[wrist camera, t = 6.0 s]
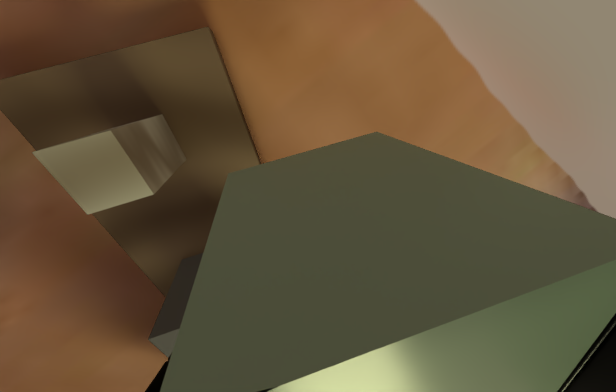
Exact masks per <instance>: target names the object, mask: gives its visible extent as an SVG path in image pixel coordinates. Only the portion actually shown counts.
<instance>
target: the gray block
mask: <svg viewBox="0 0 616 392" xmlns="http://www.w3.org/2000/svg"><path fill="white" fill-rule="evenodd" d="M202 256H203V253H200V254H197V255H194V256H191V257H188V258H185V259H182V261H181V263H180V265H179V268H178V270H177V273H176V275H175V277H174V280H173V282H172V284H171V287H170V289H169V291H168V294H167V296H166V299H165V301H164V303H163V306H162V308H161V310H160V313H159V315H158V318H157V320H156V322H155V325H154V327H153V329H152V332H151V334H150V336H149V339H148V340H149V341H150V342H152V343H153V344H154V345H155V346H156V347H157V348H158V349H159V350H160V351H162V352H163V353H164V354H165V355H166V356H167V357H168V358H169V356H170V355H171V353H172V351H173V348H174V345H175V342H176V338H177V335H178V332H179V329H180V326H181V323H182V319H183V316H184V313H185V310H186V307H187V303H188V300H189V297H190V294H191V291H192V287H193V284H194V281H195V278H196V275H197V272H198V268H199V265H200V262H201V259H202Z"/></svg>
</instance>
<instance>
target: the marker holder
mask: <svg viewBox="0 0 616 392" xmlns="http://www.w3.org/2000/svg"><path fill="white" fill-rule="evenodd" d="M0 110H1V111H2V112H3V113H4V114H5V116H6V117H7V118H8V119H9V120H10V121H11V122H12V124H13V125H14V126H15V127H16V128H17V129H18V130H19V131H20V133H21V134H22V135H23V136H24V137H25V138H26V139H27V141H28V142H29V143H30V144H31V145H32V146H33V147H34V149H35V150H36V151H35V152H32V153H33V154H34V155H35V157H36V158H37V159H38V160H39V161H40V162H41V163H42V164H43V166H44V167H45V168H46V169H47V170H48V171H49V172H50V173H51V174H52V176H53V177H54V178H55V179H56V180H57V181H58V182H59V183H60V184H61V186H62V187H63V188H64V189H65V190H66V191H67V192H68V193H69V195H70V196H71V197H72V198H73V199H74V200H75V201H76V202H77V203H78V205H79V206H80V207H81V208H82V209H83V210H84V211H85V212H86V214H87V215H88V214H93V215H94V217H95V218H96V219H97V220H98V221H99V222H100V223H101V225H102V226H103V227H104V228H105V229H106V230H107V231H108V232H109V234H110V235H111V236H112V237H113V238H114V239H115V240H116V242H117V243H118V244H119V245H120V246H121V247H122V248H123V249H124V251H125V252H126V253H127V254H128V255H129V256H130V257H131V259H132V260H133V261H134V262H135V263H136V264H137V265H138V266H139V268H140V269H141V270H142V271H143V272H144V273H145V274H146V276H147V277H148V278H149V279H150V280H151V281H152V282H153V283H154V285H155V286H156V287H157V288H158V289H159V290H160V291H161V293H162V294H163V295H164V296H165V297H166V296H167V294H168V291H169V289H170V287H171V284H172V282H173V280H174V277H175V275H176V273H177V270H178V268H179V265H180V263H181V261H182V259H185V258H188V257H191V256H194V255H197V254H200V253H203V252H204V249H205V246H206V243H207V240H208V236H209V233H210V230H211V227H212V224H213V221H214V217H215V214H216V211H217V208H218V205H219V201H220V198H221V195H222V192H223V189H224V185H225V182H226V179H227V176H228V173H232V172H235V171H239V170H242V169H246V168H250V167H253V166H257V165H260V164H261V161H260V159H259V156H258V153H257V151H256V148H255V145H254V143H253V140H252V137H251V134H250V132H249V129H248V126H247V124H246V121H245V118H244V115H243V113H242V110H241V107H240V105H239V102H238V99H237V96H236V94H235V91H234V88H233V86H232V83H231V80H230V77H229V75H228V72H227V69H226V67H225V64H224V61H223V59H222V56H221V53H220V50H219V48H218V45H217V42H216V40H215V37H214V34H213V32H212V31H211V29H210V28H209V27H205V28H201V29H197V30H193V31H189V32H185V33H181V34H177V35H173V36H169V37H165V38H162V39H158V40H154V41H150V42H146V43H142V44H138V45H134V46H130V47H126V48H122V49H118V50H115V51H111V52H107V53H103V54H99V55H95V56H91V57H87V58H83V59H79V60H75V61H71V62H67V63H64V64H60V65H56V66H52V67H48V68H44V69H40V70H36V71H32V72H28V73H24V74H20V75H16V76H13V77H9V78H5V79H1V80H0Z"/></svg>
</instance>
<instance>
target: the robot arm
mask: <svg viewBox="0 0 616 392" xmlns="http://www.w3.org/2000/svg"><path fill="white" fill-rule="evenodd" d="M171 354H172V353H171ZM170 358H171V355H170V356H169V358H168V361H166V362H165V363H164V365H163V366H162V368H161V369H160V371H159V372H158V374H157V375H156V377H155V378H154V379H153V381H152V382H151V384H150V385H149V387H148V388H147V389H146V391H145V392H160V390H161V386H162V383H163V380H164V377H165V374H166V370H167V367H168V364H169V361H170ZM557 392H616V313H615V315H614V316H613V317H612V319H611V320H610V321H609V323H608V324H607V325H606V327H605V328H604V329H603V331H602V332H601V333H600V335H599V336H598V337H597V339H596V340H595V341H594V343H593V344H592V345H591V347H590V348H589V349H588V351H587V352H586V353H585V355H584V356H583V357H582V359H581V360H580V361H579V363H578V364H577V366H576V367H575V368H574V370H573V371H572V372H571V374H570V375H569V376H568V378H567V379H566V380H565V382H564V383H563V384H562V386H561V387H560V388H559V390H558V391H557Z"/></svg>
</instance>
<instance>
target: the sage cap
mask: <svg viewBox="0 0 616 392" xmlns="http://www.w3.org/2000/svg"><path fill="white" fill-rule="evenodd" d="M615 313H616V219H615V218H612V217H609V216H606V215H604V214H601V213H598V212H596V211H593V210H590V209H587V208H585V207H582V206H579V205H576V204H574V203H571V202H568V201H565V200H563V199H560V198H557V197H554V196H552V195H549V194H546V193H543V192H541V191H538V190H535V189H532V188H530V187H527V186H524V185H521V184H519V183H516V182H513V181H510V180H508V179H505V178H502V177H499V176H497V175H494V174H491V173H489V172H486V171H483V170H480V169H478V168H475V167H472V166H469V165H467V164H464V163H461V162H458V161H456V160H453V159H450V158H447V157H445V156H442V155H439V154H436V153H434V152H431V151H428V150H425V149H423V148H420V147H417V146H414V145H412V144H409V143H406V142H403V141H401V140H398V139H395V138H393V137H390V136H387V135H384V134H382V133H379V132H374V133H370V134H367V135H363V136H360V137H356V138H353V139H349V140H346V141H342V142H338V143H335V144H331V145H328V146H324V147H321V148H317V149H314V150H310V151H306V152H303V153H299V154H296V155H292V156H289V157H285V158H282V159H278V160H274V161H271V162H267V163H264V164H260V165H257V166H253V167H250V168H246V169H242V170H239V171H235V172H232V173H228V176H227V179H226V182H225V185H224V189H223V192H222V195H221V198H220V201H219V205H218V208H217V211H216V214H215V217H214V221H213V224H212V227H211V230H210V233H209V236H208V240H207V243H206V246H205V249H204V252H203V256H202V259H201V262H200V265H199V268H198V272H197V275H196V278H195V281H194V284H193V287H192V291H191V294H190V297H189V300H188V303H187V307H186V310H185V313H184V316H183V319H182V323H181V326H180V329H179V332H178V335H177V338H176V342H175V345H174V348H173V351H172V354H171V358H170V361H169V364H168V367H167V370H166V374H165V377H164V380H163V383H162V386H161V390H160V392H557V391H558V390H559V388H560V387H561V386H562V384H563V383H564V382H565V380H566V379H567V378H568V376H569V375H570V374H571V372H572V371H573V370H574V368H575V367H576V366H577V364H578V363H579V361H580V360H581V359H582V357H583V356H584V355H585V353H586V352H587V351H588V349H589V348H590V347H591V345H592V344H593V343H594V341H595V340H596V339H597V337H598V336H599V335H600V333H601V332H602V331H603V329H604V328H605V327H606V325H607V324H608V323H609V321H610V320H611V319H612V317H613V316H614V315H615Z"/></svg>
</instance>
